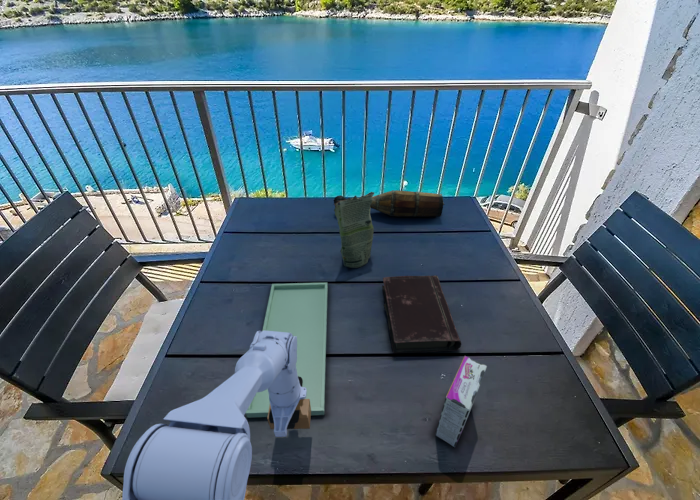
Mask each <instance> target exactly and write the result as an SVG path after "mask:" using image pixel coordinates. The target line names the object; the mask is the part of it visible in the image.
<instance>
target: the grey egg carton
mask: <svg viewBox="0 0 700 500" xmlns="http://www.w3.org/2000/svg"><path fill="white" fill-rule="evenodd" d="M487 367H488V366H487V365H486V364H484V363H481V362H479V361H477V360H474V359H472V358H471V357H469V356H466V355H464V356H463V358H462V360H461V363H460V365H459V367H458V369H457V371H456V374H455V376H454V378H453V380H452V382H451V385H450V387H449V389H448V391H447V393H446V396H445V399H444V402H443V405H442V409H441V412H440V416H439V420H438V424H437V427H436V430H435V434H434V435H435V437H437V438H438V439H440V440H442V441H444V442H446V443H447V444H448V445H450V446H452V447H454V448H456V446H457V444H458V442H459V439H460V437H461V435H462V433H463V430H464V428H465V425H466V423H467V420H468V418H469V415H470V412H471V410H472V407H473V405H474V403H475V399H476V397H477V395H478V392H479V389H480V387H481V385H482V381H483V378H484V376H485V373H486V370H487Z"/></svg>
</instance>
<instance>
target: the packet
mask: <svg viewBox="0 0 700 500" xmlns="http://www.w3.org/2000/svg"><path fill="white" fill-rule="evenodd" d="M270 409H271V405H269V411H268V417H266V418H267V422H268V426H269V429H270V430H274V423H270V421H269V413H270ZM295 410H300V415H299V420H298V422H297V423H295V427H294V429H293V430H309V429H311V418H312V417H311V416H312V415H311V405H310V399H301V400H300V401H299V402H298V405H297V407H296V409H295Z"/></svg>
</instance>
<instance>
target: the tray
mask: <svg viewBox="0 0 700 500" xmlns="http://www.w3.org/2000/svg"><path fill="white" fill-rule="evenodd" d="M328 286H329V285H328V282H297V283H296V282H295V283H293V282H291V283H272V284H271V287H270V291H269V297H268V301H267V306H266V310H265V315H264V321H263V325H262V330H261V331H264V330H266V331H277V332H288V333H292V335H293V336H297V362H296V369H297V374H298V376H299V377H301V378H302V379H303V385H302V387H305V388H306V390H307V394H306V398H305V399H310V405H311V416H325V408H326V407H325V406H326V399H325V398H326V369H327V367H326V366H327V333H328V332H327V329H328V328H327V327H328V326H327V325H328V324H327V323H328V289H329V288H328ZM269 405H270V400H269V392H268V389H266V390H264V391H262V392H257V393H256V395H255V397H254V398H253V400H252V402H251V404H250V406H249V407H248V409H247V411H246V413H245V416H246V419H247V418H250V419H252V418H267V417H268V411H269Z"/></svg>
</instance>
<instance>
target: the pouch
mask: <svg viewBox="0 0 700 500" xmlns="http://www.w3.org/2000/svg"><path fill="white" fill-rule="evenodd" d="M373 196H375V191H374V192H373V191H370V192H368V193H367V194H365V195H361V196H360V197H358V196H357V195H354V196H353V197H351V198H352V199H351V200H342V201H339V202H338V203H336V204H334V203H333V204H334V209H333V211H334V216H335V217H336V220H337V225H338V228H339V230H338V232H339V236H340V243H341V244H340V245H341V248H340V251H339V252H340V254H341V258H342V261H343V266H344V267H347V268H353V269H354V268H361V267H363V266H365V265H367V264H368V261H369V259H370V258H371V255H372V254H371V253H372V247H373V241H374V232H375V229H374V225H373V221H372V217H371V208H370V205H371V203H372V198H373ZM357 198H359V199H357Z"/></svg>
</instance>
